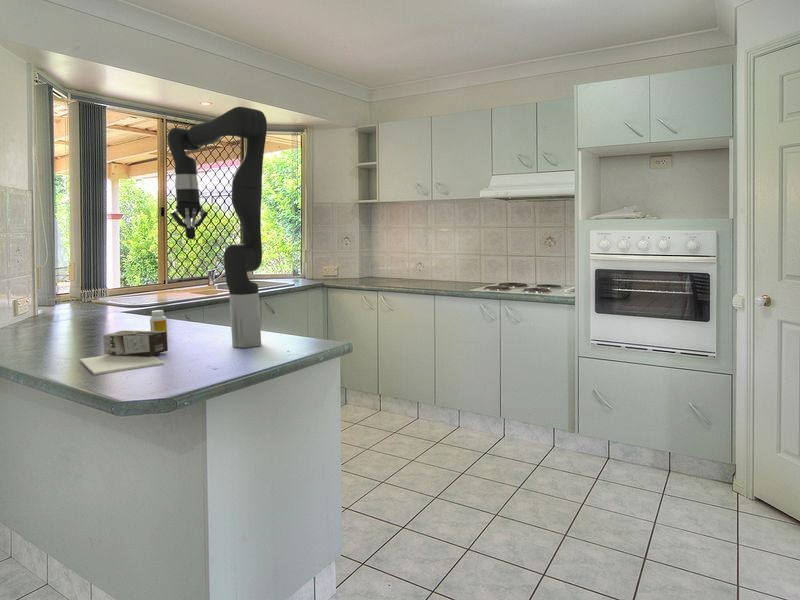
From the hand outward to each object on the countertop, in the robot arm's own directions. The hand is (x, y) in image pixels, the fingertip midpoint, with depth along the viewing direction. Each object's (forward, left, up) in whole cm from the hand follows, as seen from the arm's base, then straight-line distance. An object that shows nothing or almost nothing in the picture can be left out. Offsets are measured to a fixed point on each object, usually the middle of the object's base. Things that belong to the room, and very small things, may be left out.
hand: (190, 239), depth 204 cm
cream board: (-23, +30, -35) cm, 52 cm away
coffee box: (-9, +29, -31) cm, 44 cm away
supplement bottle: (+11, +10, -35) cm, 38 cm away
